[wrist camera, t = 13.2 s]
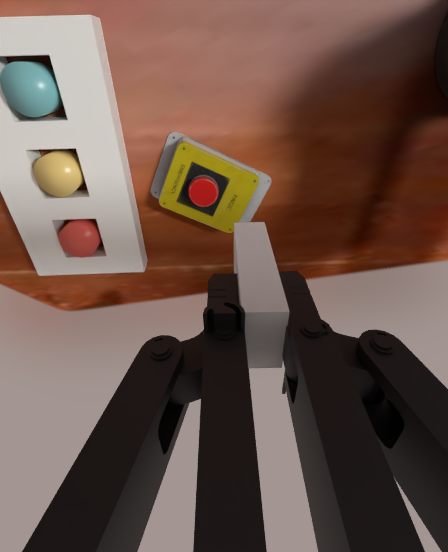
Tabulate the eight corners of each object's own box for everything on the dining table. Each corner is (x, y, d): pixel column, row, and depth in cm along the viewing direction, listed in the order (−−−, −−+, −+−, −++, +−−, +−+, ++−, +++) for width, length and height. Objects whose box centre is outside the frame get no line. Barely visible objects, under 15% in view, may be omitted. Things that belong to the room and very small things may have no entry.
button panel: (99, 18, 32) (90, 14, 29) (147, 261, 49) (144, 271, 47) (-56, 22, 32) (-78, 19, 29) (47, 265, 49) (38, 275, 47)
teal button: (56, 60, 33) (41, 60, 31) (70, 112, 36) (58, 116, 34) (10, 62, 33) (-9, 62, 31) (28, 113, 36) (12, 118, 33)
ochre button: (80, 147, 39) (69, 154, 36) (91, 186, 42) (82, 196, 39) (40, 149, 39) (26, 156, 36) (54, 188, 41) (42, 197, 39)
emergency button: (166, 134, 35) (279, 187, 39) (170, 127, 39) (273, 176, 43) (143, 205, 40) (246, 245, 44) (149, 193, 43) (243, 231, 47)
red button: (98, 214, 44) (90, 225, 41) (107, 244, 47) (100, 257, 44) (63, 215, 44) (53, 226, 41) (74, 246, 47) (65, 258, 44)
